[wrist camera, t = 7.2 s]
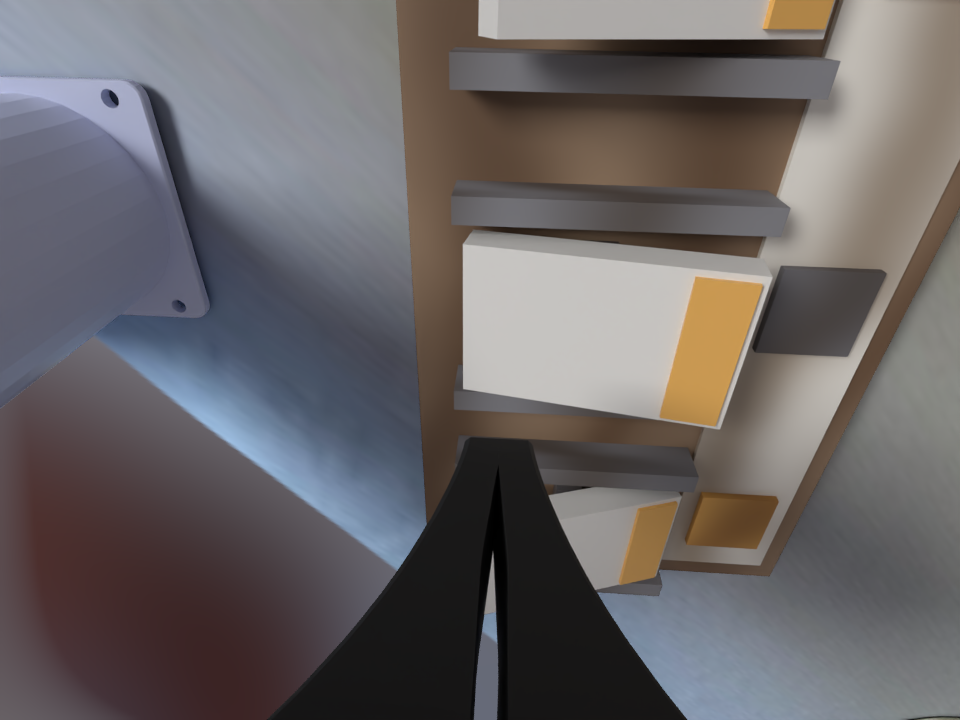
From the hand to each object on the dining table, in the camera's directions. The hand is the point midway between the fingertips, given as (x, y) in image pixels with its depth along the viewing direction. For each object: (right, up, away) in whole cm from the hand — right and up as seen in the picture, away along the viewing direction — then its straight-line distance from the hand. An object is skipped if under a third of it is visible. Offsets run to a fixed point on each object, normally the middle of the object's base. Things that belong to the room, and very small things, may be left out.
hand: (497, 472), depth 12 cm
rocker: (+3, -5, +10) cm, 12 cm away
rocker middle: (+3, +4, +5) cm, 7 cm away
